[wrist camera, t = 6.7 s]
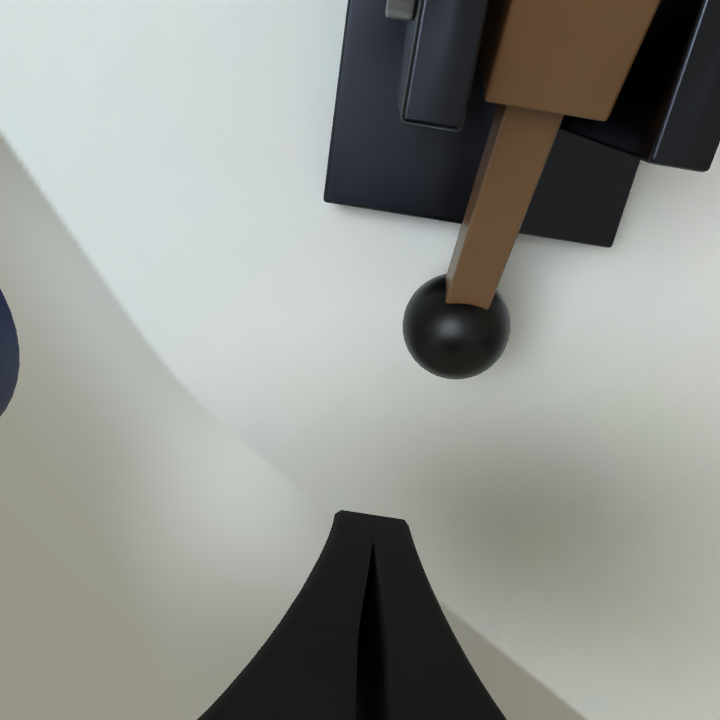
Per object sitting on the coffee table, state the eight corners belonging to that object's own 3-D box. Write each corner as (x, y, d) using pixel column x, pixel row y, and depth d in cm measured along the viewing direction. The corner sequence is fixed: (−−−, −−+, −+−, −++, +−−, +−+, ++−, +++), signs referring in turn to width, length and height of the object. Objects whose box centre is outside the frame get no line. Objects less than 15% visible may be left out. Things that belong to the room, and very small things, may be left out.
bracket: (599, 238, 18) (731, 347, 11) (326, 194, 18) (286, 277, 11) (738, -199, 14) (1091, -466, 7) (384, -263, 14) (379, -605, 7)
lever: (491, 332, 19) (495, 407, 17) (397, 317, 19) (391, 391, 17) (669, -107, 11) (715, -54, 9) (505, -136, 10) (517, -89, 9)
